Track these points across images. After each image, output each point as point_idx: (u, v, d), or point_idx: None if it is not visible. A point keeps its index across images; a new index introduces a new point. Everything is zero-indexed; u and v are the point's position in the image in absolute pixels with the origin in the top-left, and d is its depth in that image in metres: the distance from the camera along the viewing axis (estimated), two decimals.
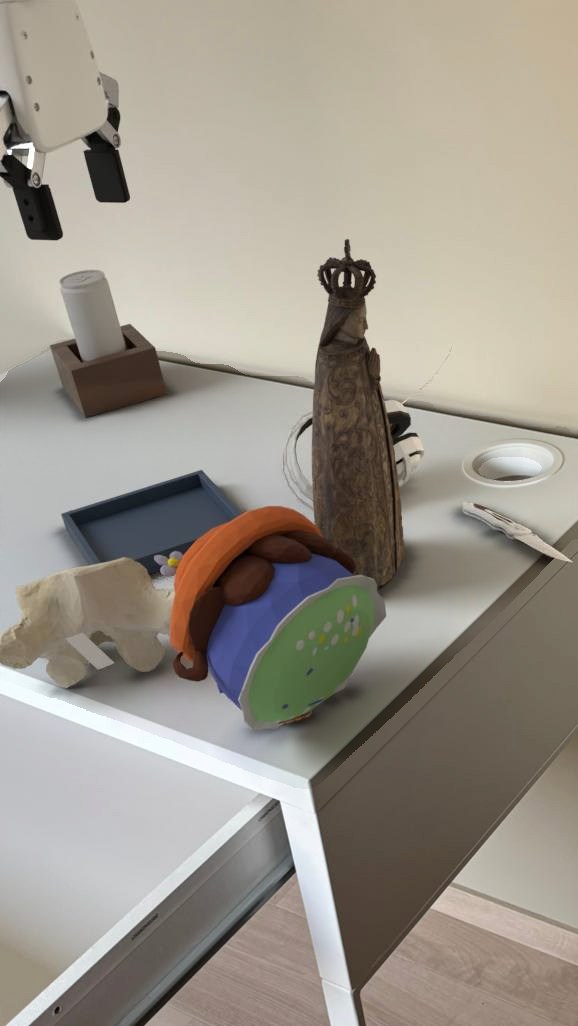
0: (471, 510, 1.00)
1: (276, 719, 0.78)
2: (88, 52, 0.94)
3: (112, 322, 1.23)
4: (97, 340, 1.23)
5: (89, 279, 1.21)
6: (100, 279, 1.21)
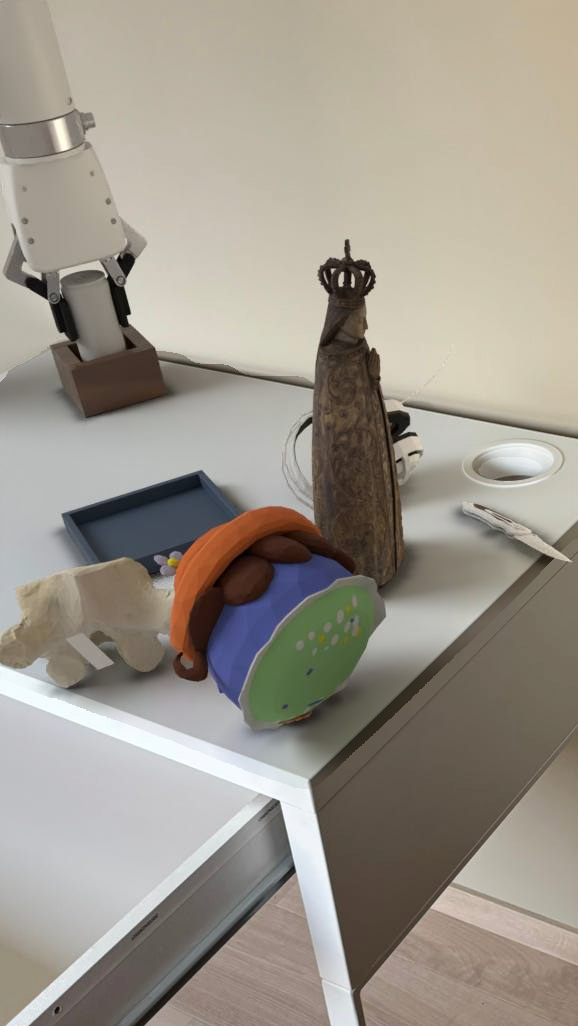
0: (471, 510, 1.00)
1: (276, 719, 0.78)
2: (102, 199, 1.16)
3: (112, 322, 1.23)
4: (97, 340, 1.23)
5: (89, 279, 1.21)
6: (100, 279, 1.21)
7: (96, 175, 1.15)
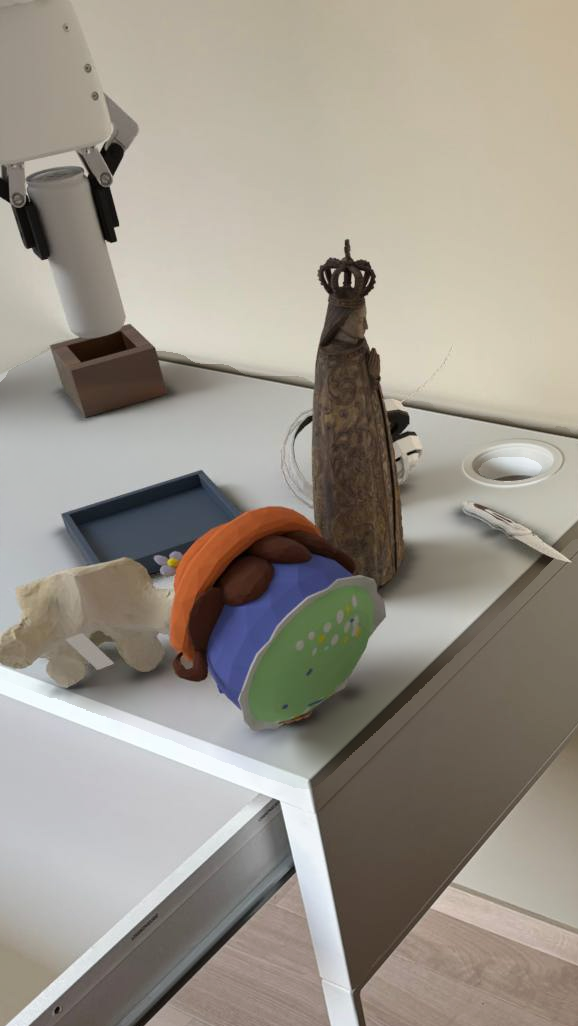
0: (471, 509, 1.00)
1: (276, 719, 0.78)
2: (80, 65, 0.88)
3: (95, 234, 0.95)
4: (76, 257, 0.95)
5: (64, 176, 0.93)
6: (78, 175, 0.92)
7: (71, 31, 0.87)
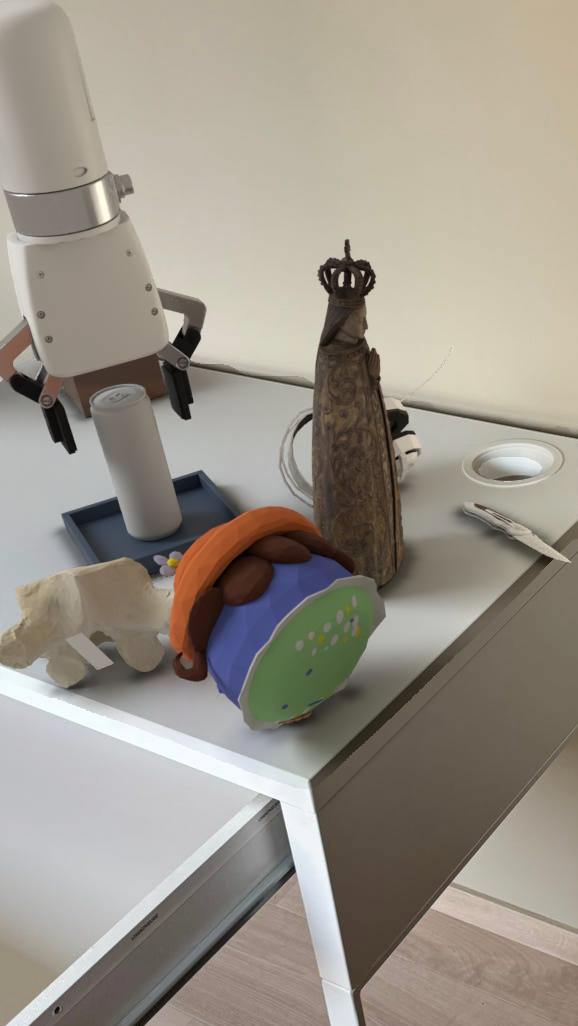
0: (471, 509, 1.00)
1: (276, 719, 0.78)
2: (141, 285, 0.90)
3: (155, 450, 0.98)
4: (136, 472, 0.98)
5: (127, 398, 0.95)
6: (141, 398, 0.95)
7: (134, 255, 0.89)
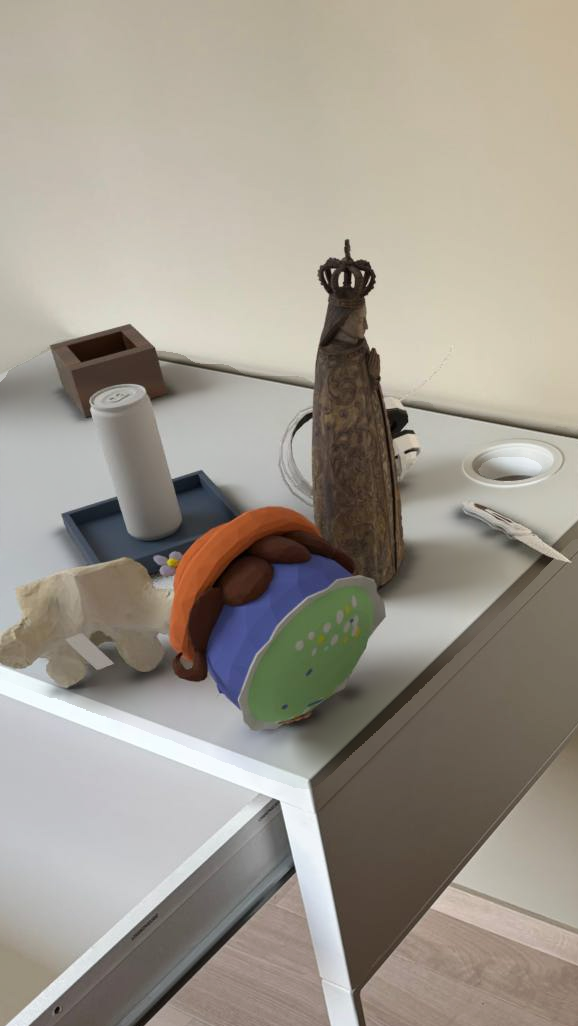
0: (471, 509, 1.00)
1: (275, 719, 0.78)
2: None
3: (155, 450, 0.98)
4: (136, 472, 0.98)
5: (127, 398, 0.95)
6: (141, 398, 0.95)
7: None
